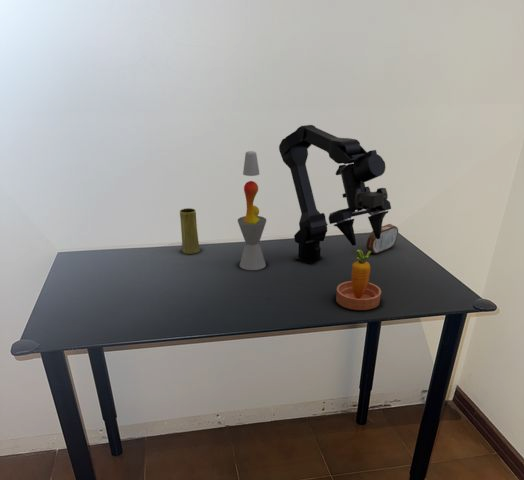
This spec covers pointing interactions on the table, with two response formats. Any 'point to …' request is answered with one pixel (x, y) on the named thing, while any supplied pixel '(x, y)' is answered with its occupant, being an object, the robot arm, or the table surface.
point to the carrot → (360, 274)
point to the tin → (382, 239)
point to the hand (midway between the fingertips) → (366, 242)
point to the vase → (189, 231)
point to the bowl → (349, 301)
